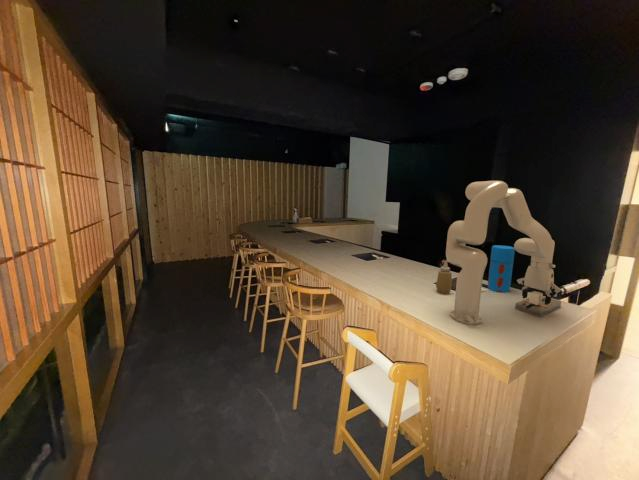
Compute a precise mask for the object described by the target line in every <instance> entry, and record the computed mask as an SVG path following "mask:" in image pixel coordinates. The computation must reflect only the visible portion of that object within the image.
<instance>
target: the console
mask: <svg viewBox="0 0 639 480" xmlns="http://www.w3.org/2000/svg"><path fill="white" fill-rule="evenodd" d="M545 297H546V296H542V303H541V304H539V305H535V306H533V304H532V303H529V299H530V297H527V298H524V299H523V300H520V301H518V302H516V303H515V305H514V306H515V308H514V309H515V310H517V311H519V312H523V313H526V314H529V315H532V316H535V317H539V318H542V317H544V316H546V315H547V314H549V313H551V312H554V311H555V310H558V309H559V308H561V305H562V301H561V300H558V299H555V298H551V303H549V304H547V305H545Z"/></svg>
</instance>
